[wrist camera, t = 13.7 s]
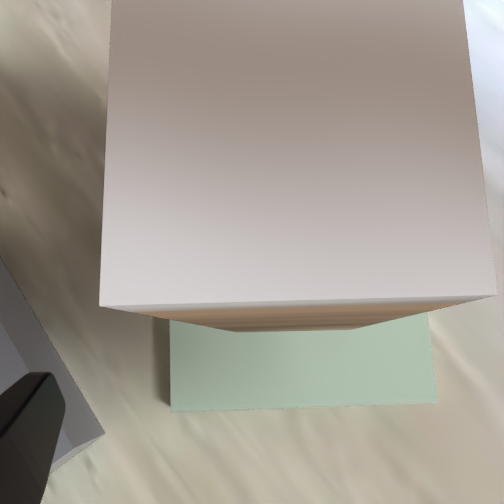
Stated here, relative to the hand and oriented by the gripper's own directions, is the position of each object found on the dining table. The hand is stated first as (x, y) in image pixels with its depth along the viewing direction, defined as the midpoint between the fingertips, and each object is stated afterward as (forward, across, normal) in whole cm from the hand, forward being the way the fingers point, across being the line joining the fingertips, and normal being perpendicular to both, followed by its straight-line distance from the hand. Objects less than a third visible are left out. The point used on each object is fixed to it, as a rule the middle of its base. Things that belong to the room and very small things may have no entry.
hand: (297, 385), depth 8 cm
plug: (+8, 0, +3) cm, 9 cm away
